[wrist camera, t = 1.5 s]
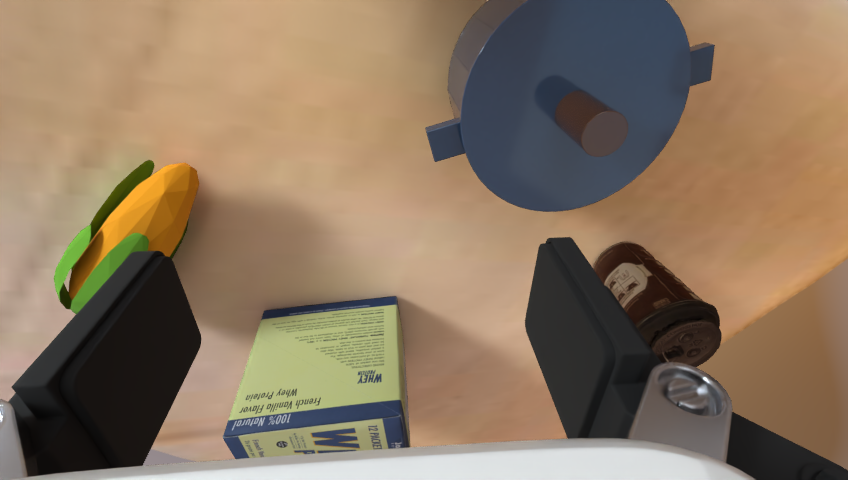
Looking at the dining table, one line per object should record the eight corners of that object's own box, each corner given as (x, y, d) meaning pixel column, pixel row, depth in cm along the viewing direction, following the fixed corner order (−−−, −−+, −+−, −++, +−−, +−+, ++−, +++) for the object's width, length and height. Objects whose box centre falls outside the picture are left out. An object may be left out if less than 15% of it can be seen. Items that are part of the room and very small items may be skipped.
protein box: (260, 309, 48) (217, 439, 35) (397, 293, 48) (404, 415, 36) (284, 369, 54) (255, 500, 41) (406, 354, 54) (415, 478, 41)
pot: (395, 23, 33) (400, 42, 26) (651, -60, 32) (736, -66, 24) (441, 183, 41) (455, 234, 34) (645, 123, 40) (708, 162, 32)
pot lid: (432, 21, 26) (445, 35, 21) (691, -63, 24) (764, -68, 20) (481, 227, 34) (497, 269, 30) (674, 173, 33) (722, 208, 29)
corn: (15, 323, 36) (111, 156, 29) (62, 266, 42) (152, 116, 35) (109, 354, 40) (215, 212, 33) (140, 297, 46) (236, 167, 39)
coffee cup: (572, 291, 51) (625, 381, 40) (591, 233, 46) (656, 317, 35) (640, 290, 52) (709, 377, 41) (665, 233, 47) (751, 314, 36)
